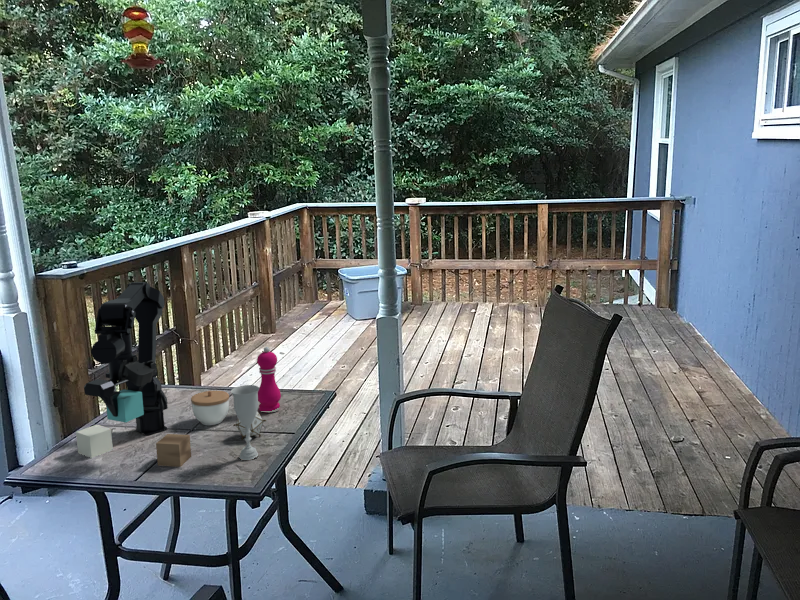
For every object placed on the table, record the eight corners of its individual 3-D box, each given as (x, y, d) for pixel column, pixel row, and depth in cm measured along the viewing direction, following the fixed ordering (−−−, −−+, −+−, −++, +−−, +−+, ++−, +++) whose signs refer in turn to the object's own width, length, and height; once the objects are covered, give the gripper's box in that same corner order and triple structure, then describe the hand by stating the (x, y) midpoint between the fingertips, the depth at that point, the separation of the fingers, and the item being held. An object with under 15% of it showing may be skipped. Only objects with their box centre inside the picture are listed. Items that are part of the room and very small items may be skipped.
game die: (254, 446, 185) (269, 413, 188) (259, 446, 177) (274, 411, 180) (224, 433, 182) (240, 400, 186) (228, 433, 175) (244, 398, 178)
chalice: (246, 449, 173) (242, 383, 170) (268, 453, 171) (264, 386, 168) (229, 460, 167) (225, 392, 163) (252, 464, 164) (248, 395, 161)
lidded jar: (187, 420, 194) (185, 390, 192) (221, 412, 201) (220, 382, 199) (200, 431, 186) (198, 399, 184) (236, 422, 192) (234, 391, 190)
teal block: (125, 411, 170) (123, 389, 169) (143, 414, 168) (141, 391, 167) (107, 419, 165) (105, 396, 164) (125, 422, 162) (123, 399, 161)
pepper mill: (258, 415, 198) (255, 350, 194) (256, 407, 205) (253, 345, 201) (282, 412, 200) (279, 348, 196) (280, 404, 207) (277, 343, 203)
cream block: (99, 445, 177) (97, 424, 176) (112, 450, 174) (110, 428, 173) (78, 453, 172) (75, 431, 171) (91, 458, 169) (89, 436, 168)
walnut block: (169, 455, 170) (167, 433, 169) (191, 456, 169) (189, 434, 168) (157, 465, 164) (155, 443, 163) (180, 467, 163) (178, 444, 162)
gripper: (115, 365, 152) (121, 429, 155) (171, 346, 168) (176, 404, 171) (79, 361, 156) (86, 423, 159) (138, 342, 173) (143, 399, 176)
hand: (125, 412), depth 166 cm, fingers closed on teal block, 6 cm apart
